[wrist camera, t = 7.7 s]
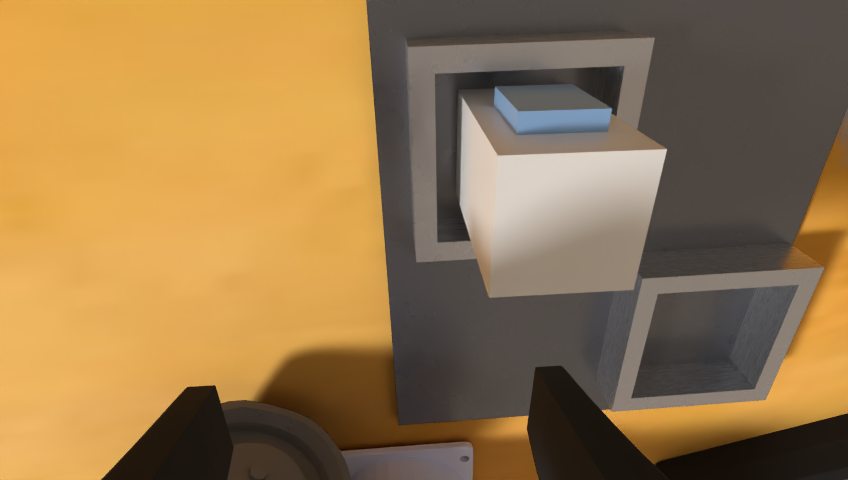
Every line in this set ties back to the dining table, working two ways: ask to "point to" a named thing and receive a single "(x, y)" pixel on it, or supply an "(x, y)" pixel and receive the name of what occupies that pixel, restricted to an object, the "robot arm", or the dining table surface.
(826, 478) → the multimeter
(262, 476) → the bluetooth speaker
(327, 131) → the dining table surface
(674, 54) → the panel
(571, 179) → the plug
